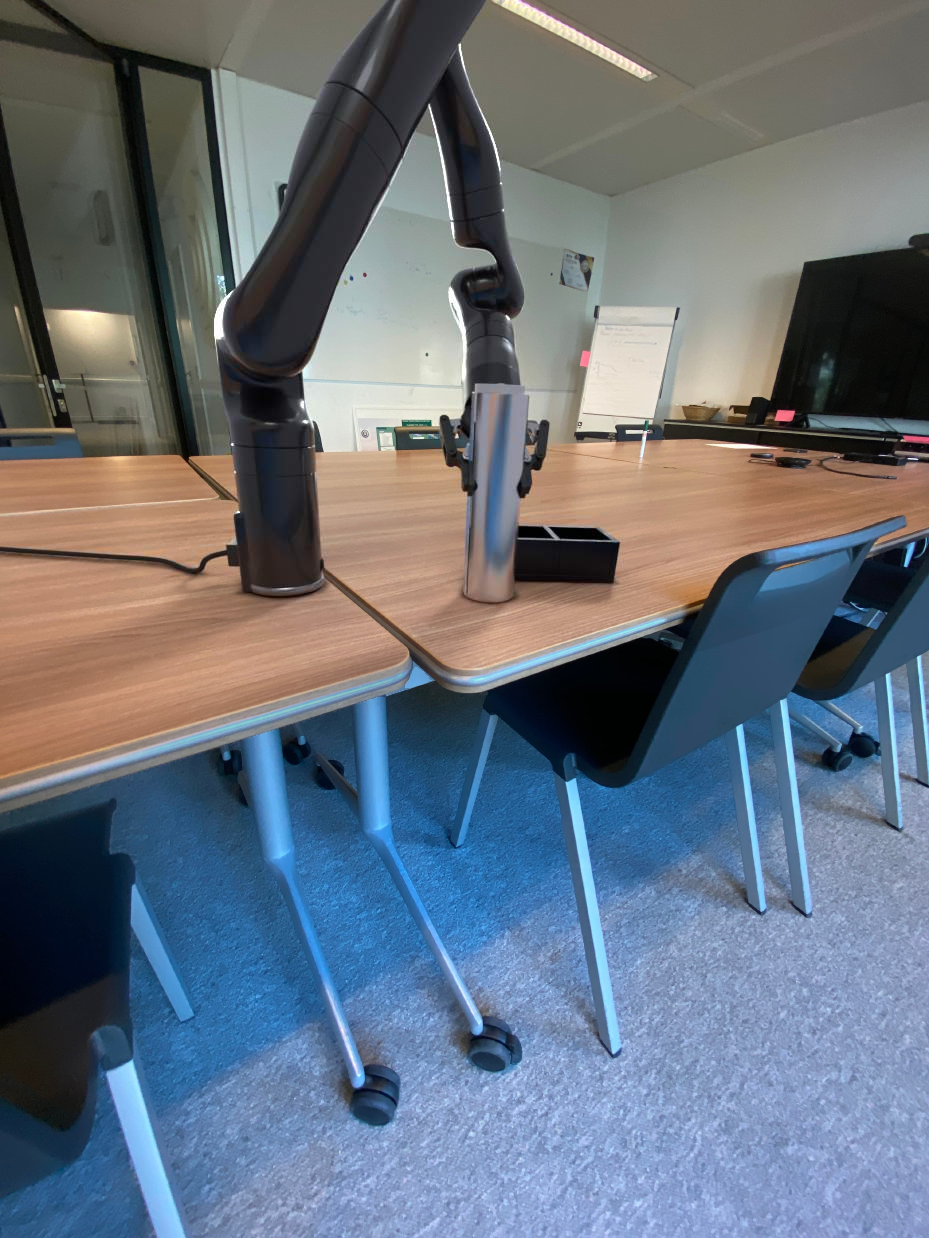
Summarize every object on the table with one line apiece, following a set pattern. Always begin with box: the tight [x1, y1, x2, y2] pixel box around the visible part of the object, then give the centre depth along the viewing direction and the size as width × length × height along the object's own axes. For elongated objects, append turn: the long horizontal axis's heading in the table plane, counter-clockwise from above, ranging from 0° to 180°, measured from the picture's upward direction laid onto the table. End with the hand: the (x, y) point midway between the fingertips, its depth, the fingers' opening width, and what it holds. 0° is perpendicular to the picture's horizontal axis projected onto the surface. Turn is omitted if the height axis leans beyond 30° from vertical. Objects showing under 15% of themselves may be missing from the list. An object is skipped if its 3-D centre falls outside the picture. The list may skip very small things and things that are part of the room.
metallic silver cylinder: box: [462, 383, 531, 604], centre depth 64 cm, size 6×6×25 cm
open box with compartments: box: [514, 524, 621, 584], centre depth 78 cm, size 17×9×6 cm, turn 95°
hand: (497, 493), depth 62 cm, fingers closed on metallic silver cylinder, 5 cm apart
